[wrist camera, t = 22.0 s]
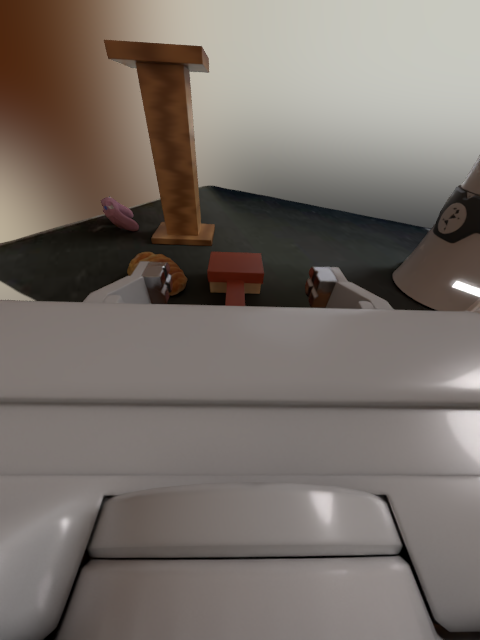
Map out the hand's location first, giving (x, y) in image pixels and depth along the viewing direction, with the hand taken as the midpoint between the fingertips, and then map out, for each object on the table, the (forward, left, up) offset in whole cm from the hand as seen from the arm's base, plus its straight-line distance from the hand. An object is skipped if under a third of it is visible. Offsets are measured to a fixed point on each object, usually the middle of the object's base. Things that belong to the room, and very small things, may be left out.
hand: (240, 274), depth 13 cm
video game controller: (+26, -41, -14) cm, 50 cm away
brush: (0, -14, -13) cm, 19 cm away
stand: (+11, -36, -13) cm, 40 cm away
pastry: (+12, -19, -14) cm, 26 cm away
